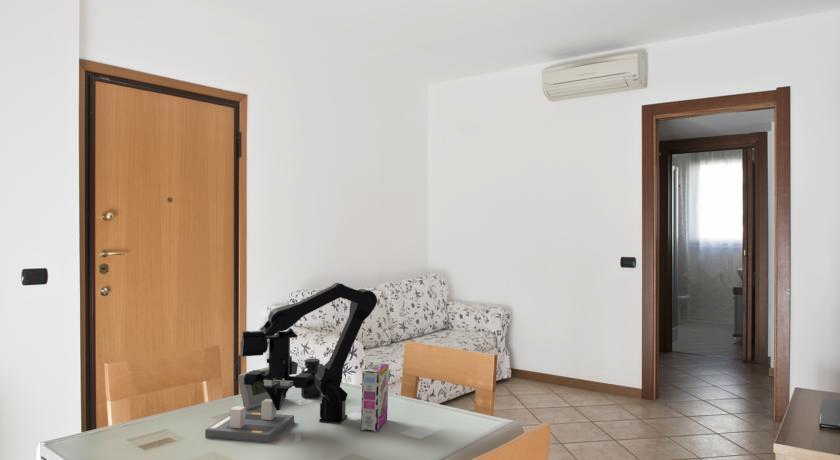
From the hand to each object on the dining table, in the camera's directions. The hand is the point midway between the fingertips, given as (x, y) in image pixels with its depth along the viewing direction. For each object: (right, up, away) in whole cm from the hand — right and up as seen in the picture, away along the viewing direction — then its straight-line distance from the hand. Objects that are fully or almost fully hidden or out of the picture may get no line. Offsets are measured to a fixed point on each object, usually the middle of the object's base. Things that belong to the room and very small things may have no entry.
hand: (278, 409), depth 158 cm
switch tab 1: (-9, -2, -6) cm, 12 cm away
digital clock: (-10, -5, +21) cm, 24 cm away
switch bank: (-7, -5, -3) cm, 9 cm away
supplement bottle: (+4, -5, +30) cm, 31 cm away
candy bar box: (+27, -5, +2) cm, 27 cm away
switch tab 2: (-3, -2, +1) cm, 4 cm away
